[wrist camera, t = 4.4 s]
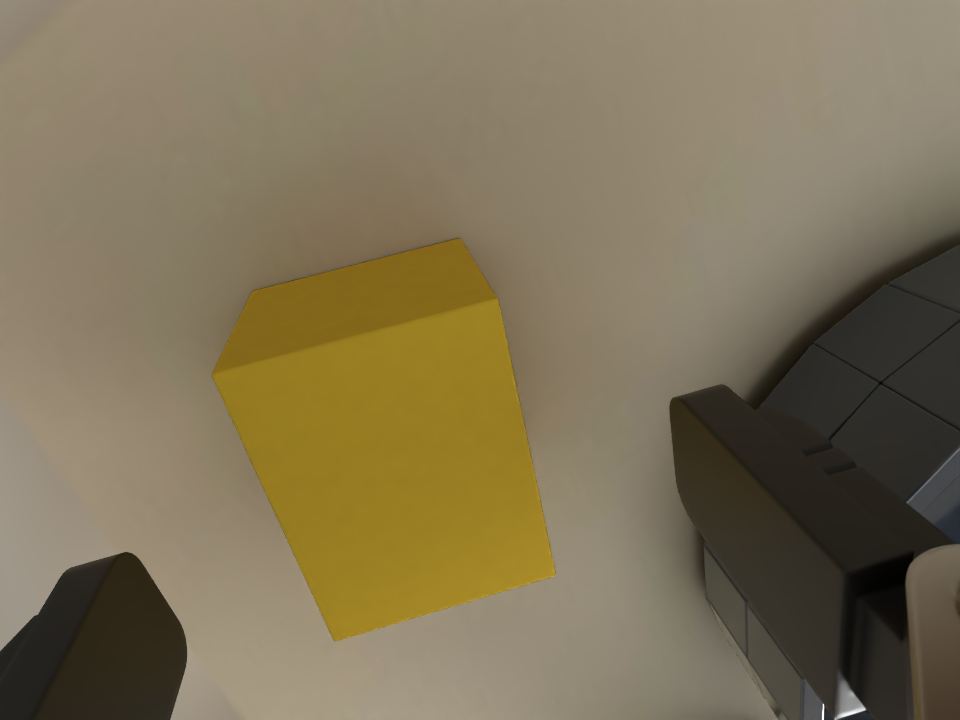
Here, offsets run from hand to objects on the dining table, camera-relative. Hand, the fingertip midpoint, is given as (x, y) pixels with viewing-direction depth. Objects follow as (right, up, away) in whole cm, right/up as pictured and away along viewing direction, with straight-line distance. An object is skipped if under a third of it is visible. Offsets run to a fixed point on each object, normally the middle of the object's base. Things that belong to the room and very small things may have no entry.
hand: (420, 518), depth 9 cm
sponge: (-1, +2, +5) cm, 6 cm away
